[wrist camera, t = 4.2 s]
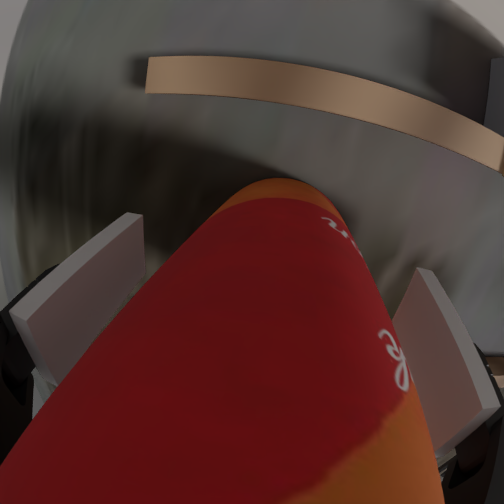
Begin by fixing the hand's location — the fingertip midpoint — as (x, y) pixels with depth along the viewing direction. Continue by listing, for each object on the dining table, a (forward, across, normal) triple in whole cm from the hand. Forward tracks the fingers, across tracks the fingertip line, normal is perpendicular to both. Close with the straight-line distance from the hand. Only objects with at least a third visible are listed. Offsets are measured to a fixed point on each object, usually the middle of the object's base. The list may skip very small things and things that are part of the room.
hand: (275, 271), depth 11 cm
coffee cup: (+3, 0, 0) cm, 3 cm away
